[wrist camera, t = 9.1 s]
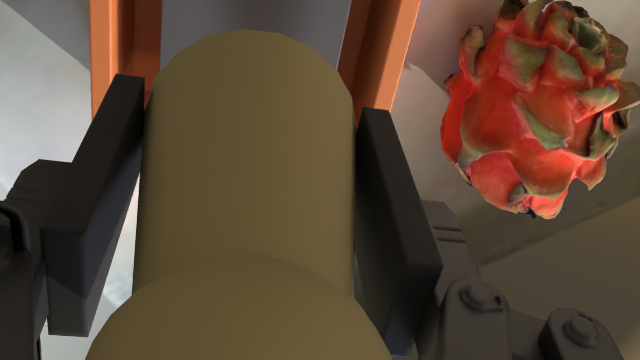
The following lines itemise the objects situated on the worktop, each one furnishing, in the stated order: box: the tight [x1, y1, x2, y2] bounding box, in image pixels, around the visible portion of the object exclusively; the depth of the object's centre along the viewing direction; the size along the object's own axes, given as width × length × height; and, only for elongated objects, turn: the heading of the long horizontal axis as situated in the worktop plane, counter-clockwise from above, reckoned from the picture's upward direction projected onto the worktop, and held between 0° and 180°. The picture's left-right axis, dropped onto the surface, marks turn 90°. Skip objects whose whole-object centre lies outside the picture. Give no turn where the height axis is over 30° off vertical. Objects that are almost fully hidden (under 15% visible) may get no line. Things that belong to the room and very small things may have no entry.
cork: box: [85, 29, 392, 360], centre depth 13 cm, size 6×6×11 cm
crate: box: [89, 0, 421, 132], centre depth 25 cm, size 12×12×6 cm
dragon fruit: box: [440, 0, 640, 219], centre depth 28 cm, size 8×8×12 cm
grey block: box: [159, 0, 352, 72], centre depth 25 cm, size 7×7×4 cm
